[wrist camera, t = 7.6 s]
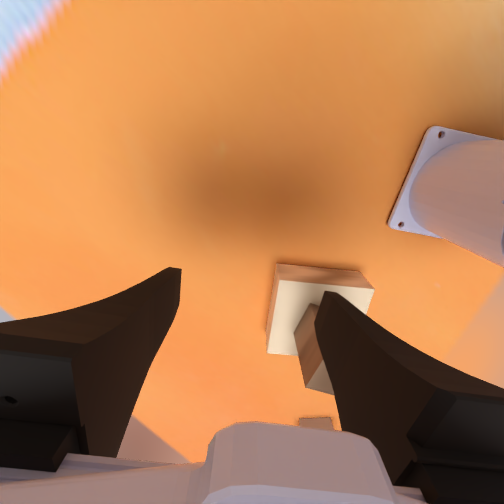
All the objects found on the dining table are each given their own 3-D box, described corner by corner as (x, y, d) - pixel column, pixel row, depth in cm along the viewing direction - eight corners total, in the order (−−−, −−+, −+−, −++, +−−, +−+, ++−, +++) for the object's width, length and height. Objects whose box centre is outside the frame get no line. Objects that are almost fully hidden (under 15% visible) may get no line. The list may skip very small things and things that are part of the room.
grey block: (330, 416, 32) (339, 452, 28) (328, 435, 33) (337, 471, 30) (299, 418, 32) (304, 453, 28) (299, 437, 34) (304, 472, 30)
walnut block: (346, 314, 22) (375, 365, 16) (327, 343, 23) (349, 399, 18) (309, 302, 21) (328, 351, 16) (293, 333, 22) (305, 387, 17)
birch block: (358, 269, 24) (374, 289, 20) (338, 334, 27) (349, 360, 24) (276, 261, 23) (279, 279, 20) (265, 328, 27) (267, 353, 23)
